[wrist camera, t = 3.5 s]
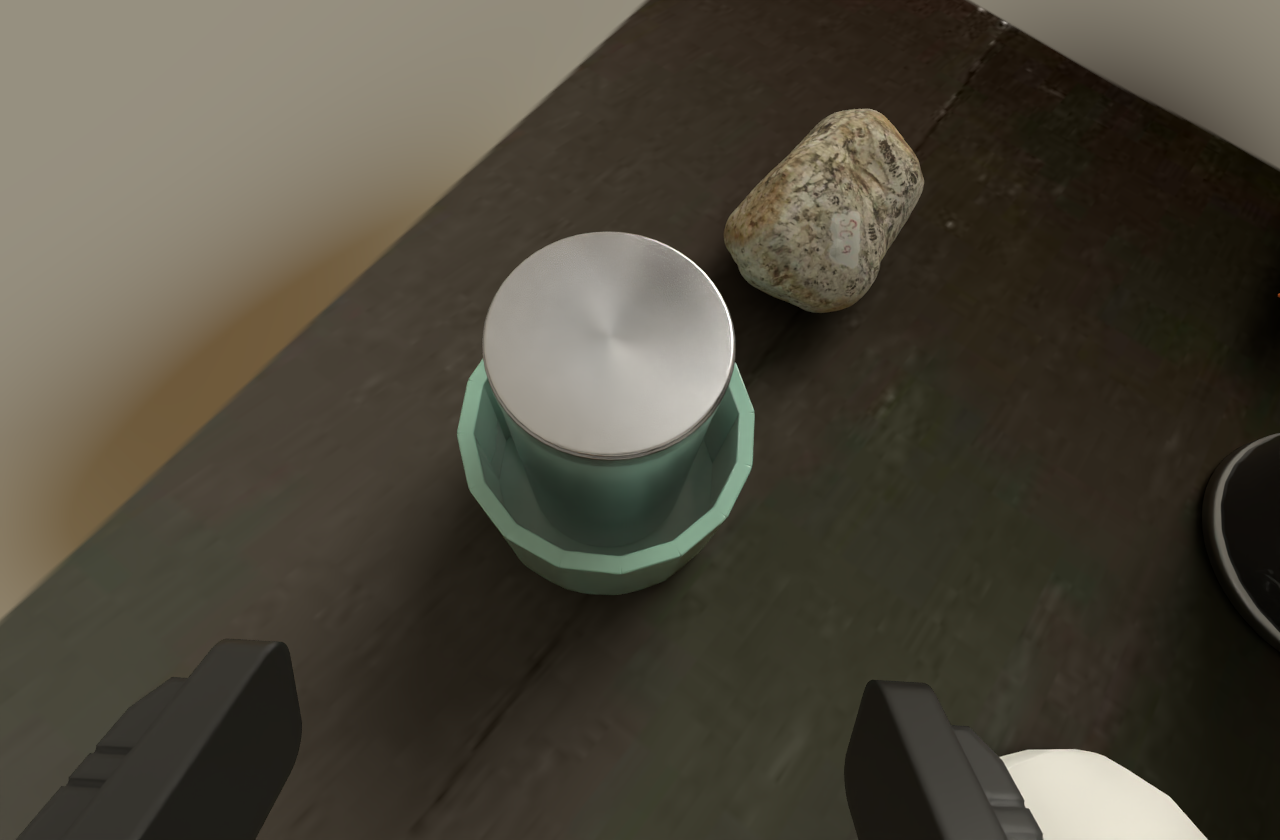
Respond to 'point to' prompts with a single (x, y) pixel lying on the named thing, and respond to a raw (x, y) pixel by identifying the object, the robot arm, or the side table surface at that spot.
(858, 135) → the stone
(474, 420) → the bucket
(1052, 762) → the white domed piece
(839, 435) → the side table surface
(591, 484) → the silver cup
